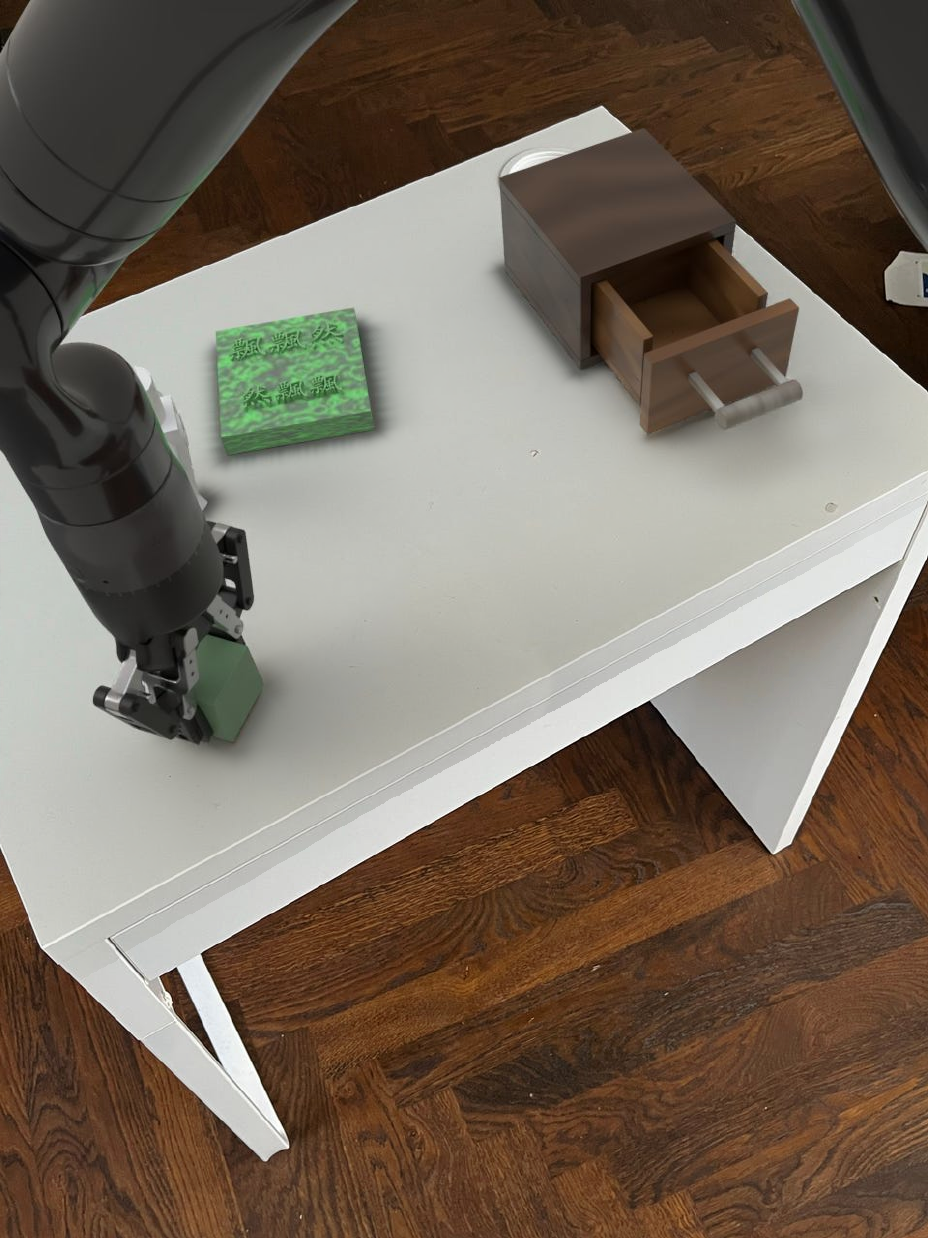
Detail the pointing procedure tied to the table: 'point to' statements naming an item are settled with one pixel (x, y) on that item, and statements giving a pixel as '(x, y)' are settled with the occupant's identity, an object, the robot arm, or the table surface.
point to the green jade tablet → (292, 381)
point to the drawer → (695, 338)
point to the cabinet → (599, 226)
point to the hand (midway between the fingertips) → (217, 700)
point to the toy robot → (171, 427)
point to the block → (226, 684)
